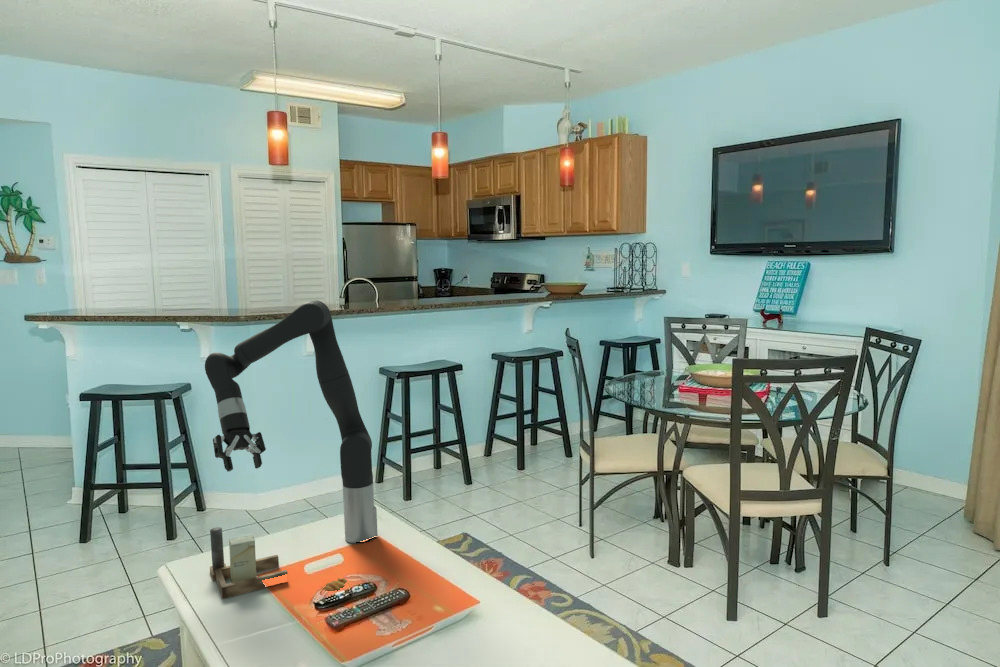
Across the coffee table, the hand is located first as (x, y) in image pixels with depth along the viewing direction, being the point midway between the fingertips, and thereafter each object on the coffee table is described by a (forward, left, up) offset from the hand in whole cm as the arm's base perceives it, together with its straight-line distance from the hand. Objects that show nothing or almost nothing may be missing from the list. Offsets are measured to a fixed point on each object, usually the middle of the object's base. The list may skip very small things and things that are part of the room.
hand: (244, 469), depth 184 cm
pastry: (-14, +34, -28) cm, 46 cm away
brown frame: (+2, +11, -27) cm, 29 cm away
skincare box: (+4, +14, -27) cm, 31 cm away
